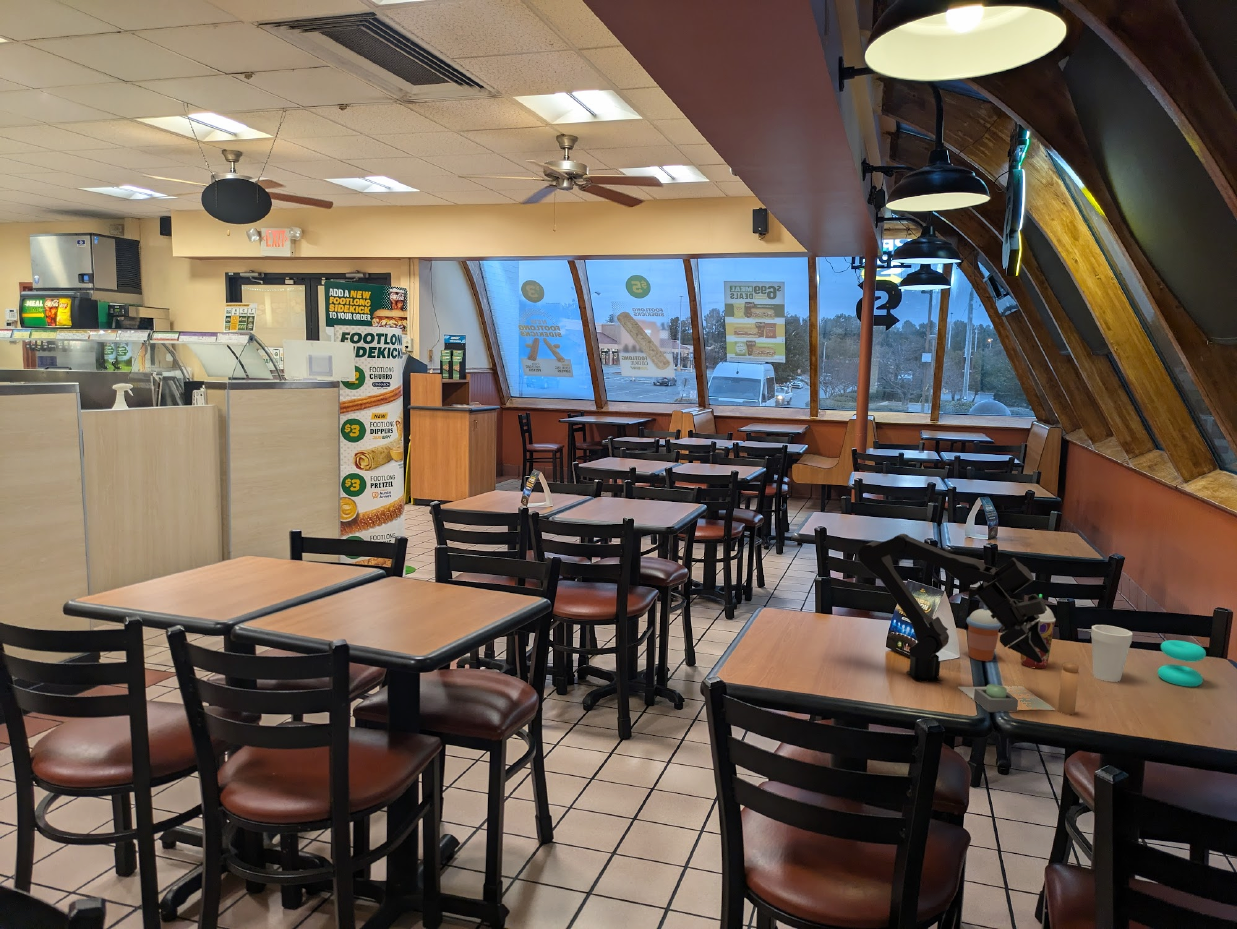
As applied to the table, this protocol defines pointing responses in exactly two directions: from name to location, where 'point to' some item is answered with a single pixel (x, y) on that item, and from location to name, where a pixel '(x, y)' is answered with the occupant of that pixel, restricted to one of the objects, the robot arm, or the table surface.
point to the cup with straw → (982, 634)
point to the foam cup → (1109, 651)
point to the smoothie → (1047, 633)
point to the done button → (996, 691)
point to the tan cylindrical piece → (1068, 688)
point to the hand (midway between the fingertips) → (1044, 657)
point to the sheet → (1004, 699)
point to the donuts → (1178, 672)
